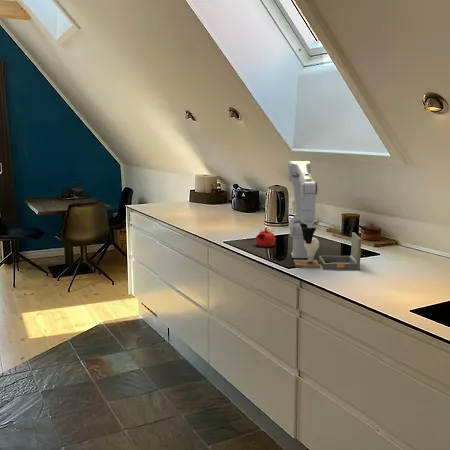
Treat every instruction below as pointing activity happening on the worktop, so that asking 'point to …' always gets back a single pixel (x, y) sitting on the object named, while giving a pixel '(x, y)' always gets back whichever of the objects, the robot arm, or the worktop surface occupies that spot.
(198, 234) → the worktop surface
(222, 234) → the worktop surface
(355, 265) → the case
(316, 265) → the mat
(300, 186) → the robot arm
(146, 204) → the worktop surface
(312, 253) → the lightbulb
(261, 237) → the pomegranate
